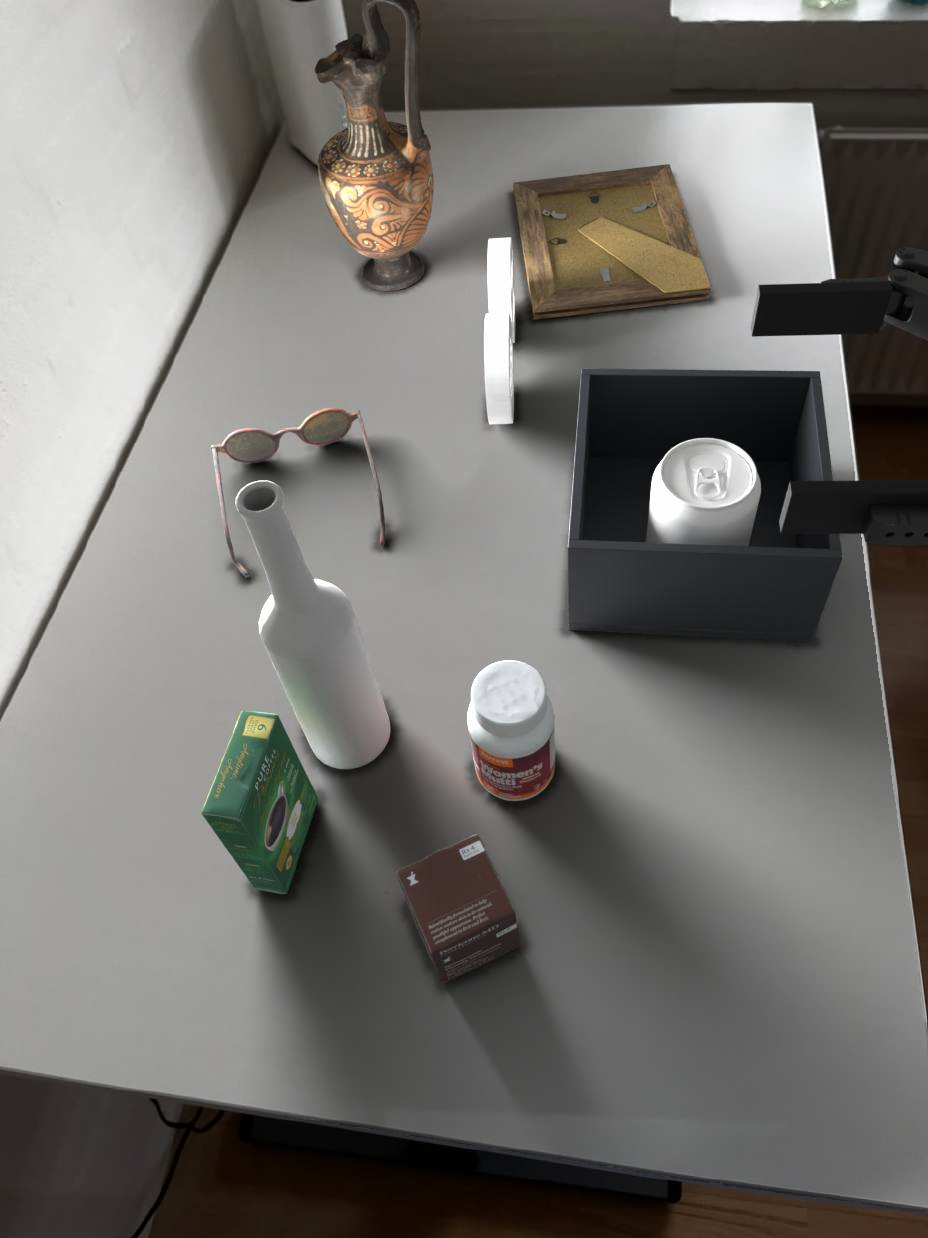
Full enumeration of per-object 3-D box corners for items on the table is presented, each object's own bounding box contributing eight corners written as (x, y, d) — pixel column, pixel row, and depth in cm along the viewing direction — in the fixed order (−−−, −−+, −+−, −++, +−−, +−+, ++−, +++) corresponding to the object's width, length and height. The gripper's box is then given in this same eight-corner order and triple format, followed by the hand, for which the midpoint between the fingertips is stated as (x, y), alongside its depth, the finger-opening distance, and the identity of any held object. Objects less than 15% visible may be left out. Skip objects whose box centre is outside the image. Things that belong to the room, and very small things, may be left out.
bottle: (376, 684, 81) (299, 440, 58) (401, 751, 77) (329, 519, 54) (299, 712, 80) (190, 476, 57) (321, 781, 76) (213, 558, 53)
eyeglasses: (365, 432, 97) (356, 394, 93) (394, 544, 89) (386, 507, 85) (220, 467, 96) (204, 430, 92) (236, 583, 88) (219, 548, 84)
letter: (513, 445, 95) (507, 364, 86) (490, 446, 95) (482, 365, 87) (515, 299, 107) (510, 215, 99) (495, 300, 107) (489, 217, 99)
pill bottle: (479, 808, 74) (466, 738, 64) (472, 735, 77) (458, 659, 68) (561, 798, 74) (559, 726, 64) (550, 726, 77) (547, 648, 68)
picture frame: (709, 301, 104) (668, 175, 117) (711, 286, 102) (669, 161, 116) (533, 321, 105) (513, 194, 118) (533, 307, 103) (512, 180, 117)
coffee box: (286, 788, 76) (239, 705, 65) (321, 795, 75) (280, 711, 65) (252, 889, 72) (195, 817, 61) (289, 896, 71) (238, 825, 60)
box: (441, 986, 67) (428, 955, 61) (408, 907, 70) (392, 870, 64) (522, 947, 68) (517, 913, 62) (485, 870, 71) (477, 831, 65)
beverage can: (739, 534, 85) (761, 434, 75) (742, 611, 80) (766, 515, 70) (644, 530, 86) (654, 431, 76) (642, 606, 81) (651, 511, 72)
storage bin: (812, 642, 79) (842, 557, 70) (568, 630, 82) (567, 547, 73) (795, 463, 90) (820, 370, 81) (580, 458, 93) (581, 367, 84)
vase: (362, 238, 116) (306, -48, 91) (463, 247, 113) (433, -45, 88) (328, 301, 110) (258, 13, 85) (434, 313, 107) (393, 19, 82)
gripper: (1305, 667, 41) (784, 661, 44) (1121, 290, 55) (735, 301, 58) (1434, 556, 35) (820, 555, 37) (1190, 164, 49) (755, 182, 52)
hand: (767, 401), depth 48 cm, fingers open, 13 cm apart
